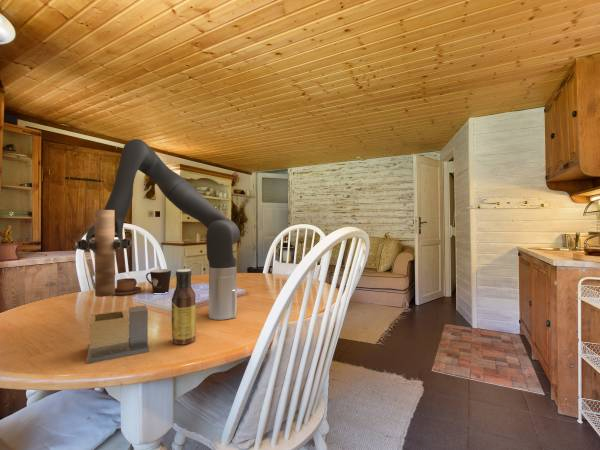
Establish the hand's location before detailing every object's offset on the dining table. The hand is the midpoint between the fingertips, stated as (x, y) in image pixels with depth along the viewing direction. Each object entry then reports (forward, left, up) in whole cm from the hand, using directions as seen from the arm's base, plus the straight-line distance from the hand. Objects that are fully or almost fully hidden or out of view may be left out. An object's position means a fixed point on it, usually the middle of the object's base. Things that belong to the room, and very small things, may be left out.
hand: (105, 245), depth 80 cm
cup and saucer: (+20, -63, -27) cm, 72 cm away
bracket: (-3, 0, -27) cm, 27 cm away
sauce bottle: (-18, -5, -27) cm, 33 cm away
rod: (+1, -2, -13) cm, 13 cm away
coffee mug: (+6, -64, -27) cm, 70 cm away
